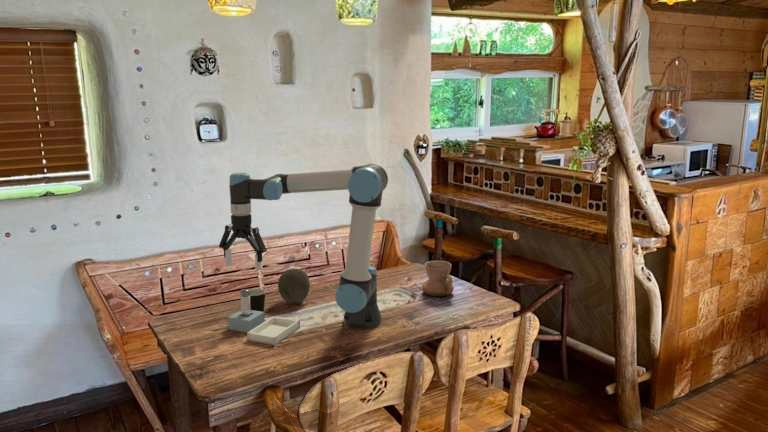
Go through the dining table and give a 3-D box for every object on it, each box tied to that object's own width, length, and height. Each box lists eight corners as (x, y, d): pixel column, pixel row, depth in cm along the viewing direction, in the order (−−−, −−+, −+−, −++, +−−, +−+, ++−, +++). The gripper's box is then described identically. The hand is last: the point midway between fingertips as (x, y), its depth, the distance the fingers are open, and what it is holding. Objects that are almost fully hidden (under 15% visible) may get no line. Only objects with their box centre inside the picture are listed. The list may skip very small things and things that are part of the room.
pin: (253, 325, 234) (251, 289, 231) (248, 328, 231) (246, 292, 228) (245, 324, 235) (244, 288, 232) (240, 327, 232) (238, 291, 229)
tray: (300, 327, 232) (299, 320, 231) (274, 345, 216) (274, 337, 215) (274, 323, 236) (273, 316, 236) (247, 340, 220) (246, 332, 220)
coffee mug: (261, 319, 240) (260, 296, 238) (241, 318, 242) (240, 295, 240) (272, 309, 251) (271, 287, 249) (253, 308, 253) (252, 286, 251)
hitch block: (264, 323, 236) (264, 312, 235) (250, 333, 227) (249, 320, 226) (243, 320, 240) (243, 308, 239) (228, 329, 231) (227, 317, 230)
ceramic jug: (414, 291, 275) (414, 261, 272) (439, 285, 282) (440, 257, 279) (436, 303, 260) (437, 272, 257) (463, 297, 267) (463, 267, 264)
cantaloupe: (316, 303, 258) (315, 270, 255) (286, 310, 250) (285, 276, 247) (301, 294, 270) (300, 263, 267) (273, 301, 262) (271, 268, 259)
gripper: (207, 212, 225) (210, 266, 230) (263, 218, 216) (265, 274, 220) (220, 209, 232) (223, 261, 236) (274, 214, 223) (276, 269, 227)
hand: (243, 267), depth 228 cm, fingers open, 13 cm apart
